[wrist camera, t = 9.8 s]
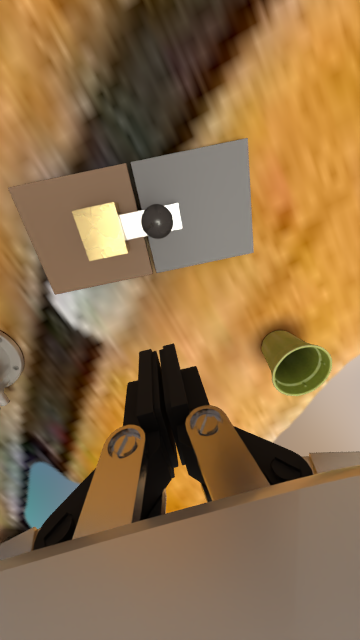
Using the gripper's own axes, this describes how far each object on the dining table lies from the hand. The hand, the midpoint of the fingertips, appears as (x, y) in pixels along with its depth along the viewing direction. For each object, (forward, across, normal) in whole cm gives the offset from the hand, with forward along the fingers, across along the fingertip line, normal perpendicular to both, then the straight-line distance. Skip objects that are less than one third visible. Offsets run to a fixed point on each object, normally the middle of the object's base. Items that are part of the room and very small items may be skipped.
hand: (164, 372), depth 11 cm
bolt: (+25, +1, -6) cm, 26 cm away
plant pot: (+27, -19, +19) cm, 38 cm away
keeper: (+26, +5, -6) cm, 27 cm away
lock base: (+27, 0, -6) cm, 28 cm away
